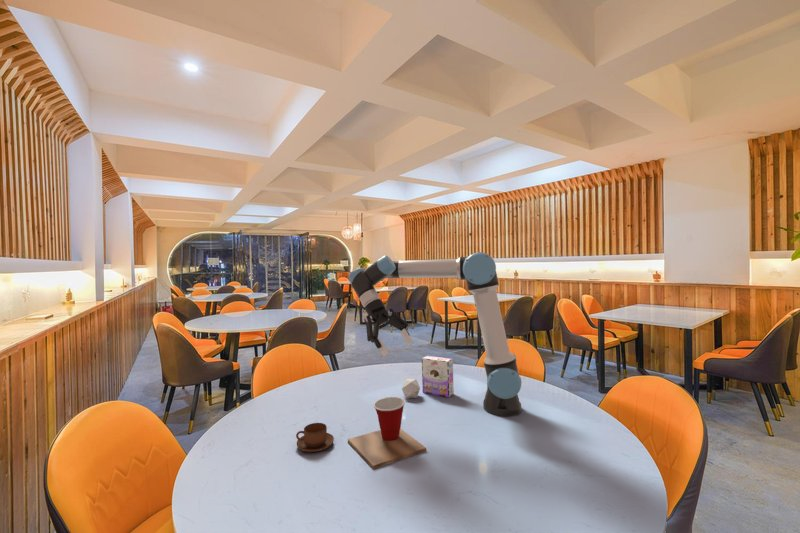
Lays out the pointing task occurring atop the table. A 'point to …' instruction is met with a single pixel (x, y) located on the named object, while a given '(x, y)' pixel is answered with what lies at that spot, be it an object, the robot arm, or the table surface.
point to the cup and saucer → (314, 438)
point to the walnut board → (385, 448)
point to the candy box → (437, 376)
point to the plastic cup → (389, 416)
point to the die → (410, 388)
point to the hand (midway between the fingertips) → (398, 349)
